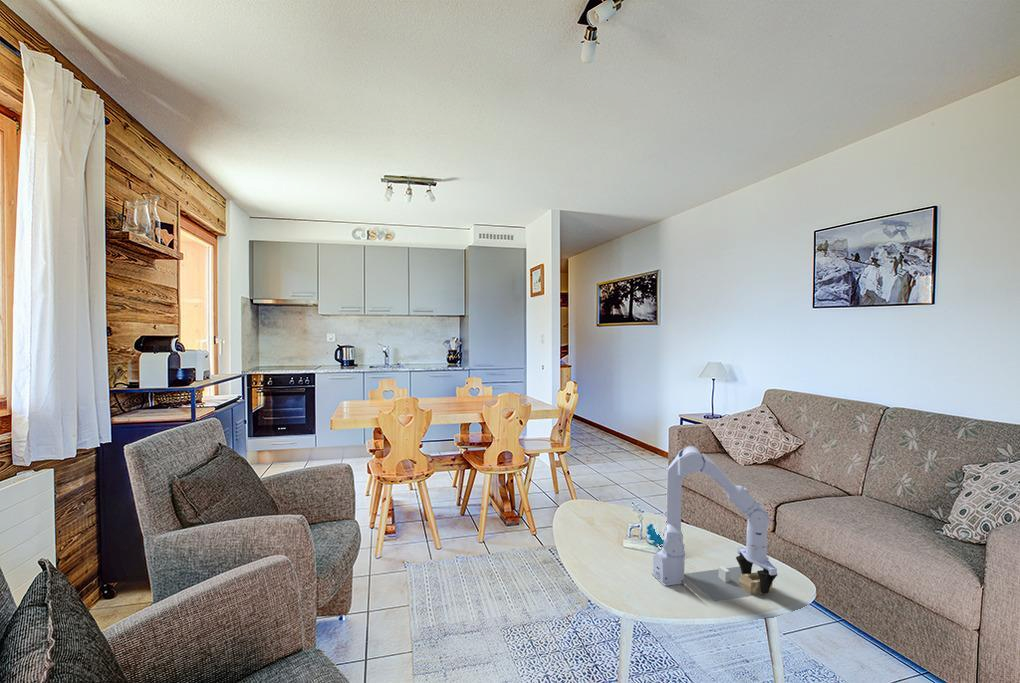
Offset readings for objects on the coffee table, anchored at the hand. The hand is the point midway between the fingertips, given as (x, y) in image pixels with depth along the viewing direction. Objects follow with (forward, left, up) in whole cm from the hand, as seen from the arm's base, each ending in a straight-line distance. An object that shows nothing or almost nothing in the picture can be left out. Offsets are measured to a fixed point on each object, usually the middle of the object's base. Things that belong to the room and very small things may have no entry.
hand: (755, 586), depth 149 cm
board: (-6, +5, -2) cm, 8 cm away
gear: (-13, +35, -2) cm, 38 cm away
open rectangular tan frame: (0, 0, -1) cm, 1 cm away
